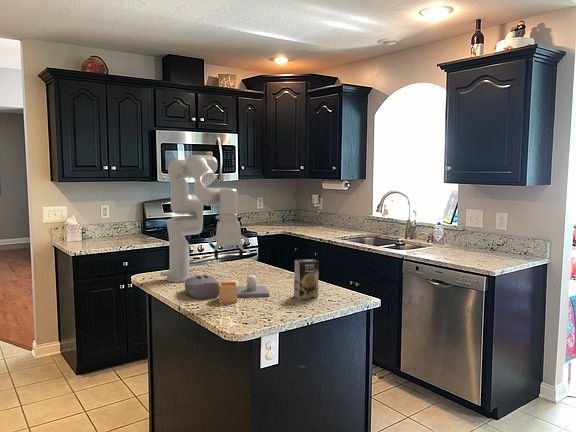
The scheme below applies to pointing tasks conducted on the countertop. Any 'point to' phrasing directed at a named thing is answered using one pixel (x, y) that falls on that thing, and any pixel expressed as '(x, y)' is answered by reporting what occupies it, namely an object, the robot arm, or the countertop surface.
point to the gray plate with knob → (252, 289)
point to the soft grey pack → (202, 286)
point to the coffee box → (306, 278)
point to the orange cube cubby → (228, 292)
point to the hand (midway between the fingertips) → (228, 259)
